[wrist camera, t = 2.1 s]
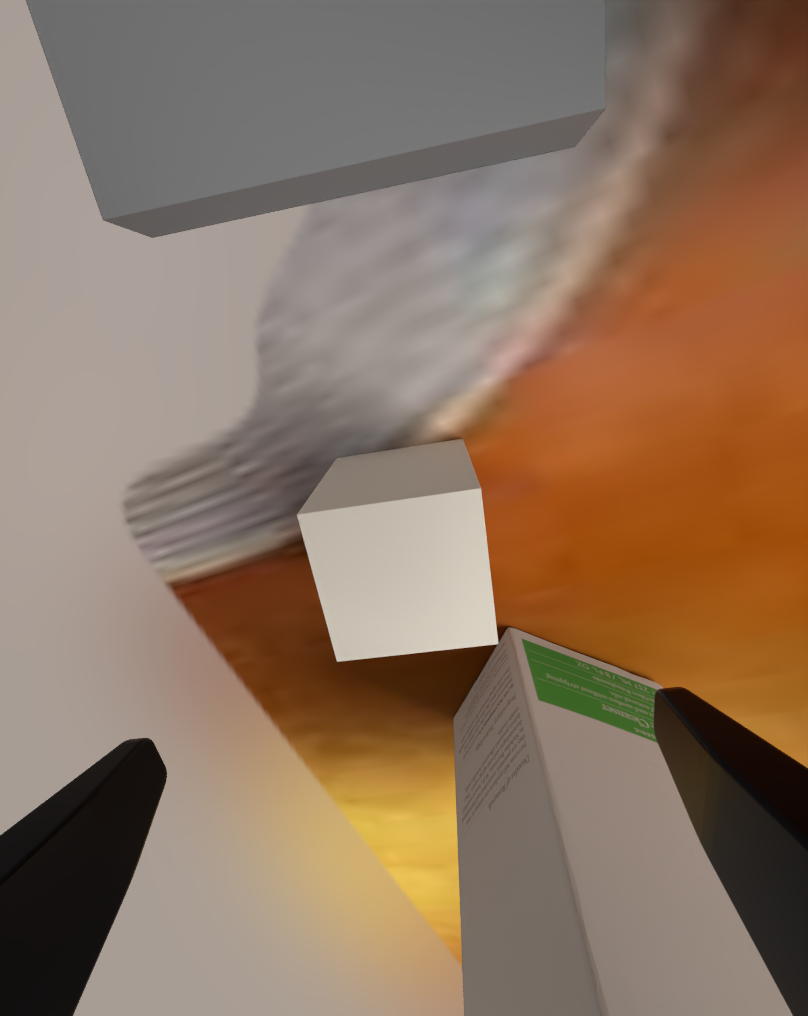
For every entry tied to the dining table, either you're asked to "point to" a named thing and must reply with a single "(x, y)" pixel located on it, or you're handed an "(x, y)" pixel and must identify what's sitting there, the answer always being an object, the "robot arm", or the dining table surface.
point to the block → (401, 552)
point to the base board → (310, 96)
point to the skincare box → (585, 853)
